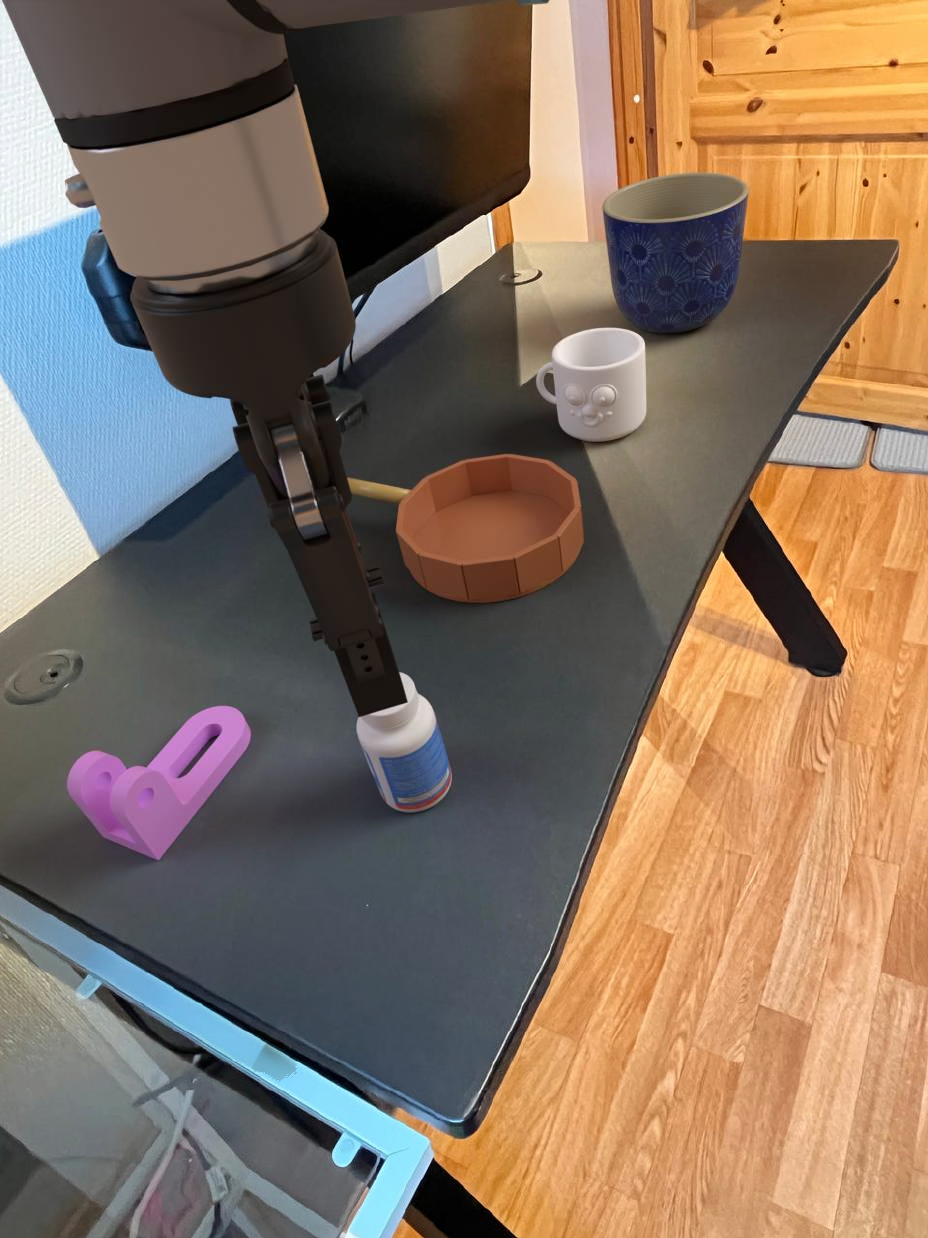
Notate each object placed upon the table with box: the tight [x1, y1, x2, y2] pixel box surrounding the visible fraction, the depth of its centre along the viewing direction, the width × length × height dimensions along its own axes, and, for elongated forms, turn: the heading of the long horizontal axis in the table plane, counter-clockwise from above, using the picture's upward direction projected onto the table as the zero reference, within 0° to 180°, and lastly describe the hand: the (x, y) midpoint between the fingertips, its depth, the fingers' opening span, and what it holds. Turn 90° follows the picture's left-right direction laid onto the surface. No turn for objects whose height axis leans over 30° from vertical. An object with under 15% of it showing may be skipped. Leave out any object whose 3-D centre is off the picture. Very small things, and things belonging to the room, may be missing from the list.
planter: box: [602, 172, 750, 334], centre depth 105 cm, size 17×17×15 cm
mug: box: [535, 327, 647, 443], centre depth 91 cm, size 12×10×9 cm
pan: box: [347, 453, 585, 604], centre depth 82 cm, size 28×17×5 cm, turn 59°
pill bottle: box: [356, 671, 453, 813], centre depth 58 cm, size 6×5×10 cm
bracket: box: [66, 705, 252, 861], centre depth 63 cm, size 13×6×7 cm, turn 154°
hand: (380, 699), depth 45 cm, fingers closed
